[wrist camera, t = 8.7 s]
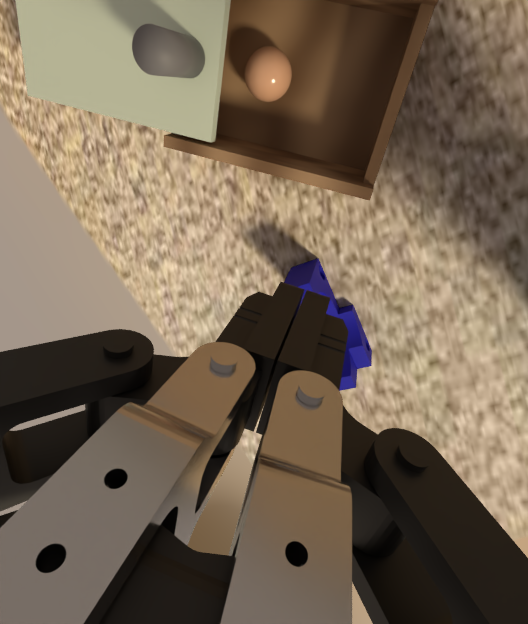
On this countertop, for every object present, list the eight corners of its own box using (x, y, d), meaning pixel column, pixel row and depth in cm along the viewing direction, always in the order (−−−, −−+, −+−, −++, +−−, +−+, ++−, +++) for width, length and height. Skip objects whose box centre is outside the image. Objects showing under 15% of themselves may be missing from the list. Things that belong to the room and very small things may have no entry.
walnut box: (428, 8, 26) (444, -17, 20) (370, 180, 33) (369, 200, 27) (216, -34, 28) (172, -69, 22) (200, 137, 35) (163, 146, 29)
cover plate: (233, -28, 23) (195, -61, 18) (215, 141, 28) (181, 151, 24) (16, -71, 25) (-73, -112, 20) (36, 95, 30) (-30, 95, 25)
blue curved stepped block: (371, 349, 41) (370, 384, 36) (333, 358, 43) (327, 392, 38) (332, 252, 37) (325, 277, 32) (291, 267, 39) (278, 292, 34)
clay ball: (300, 54, 29) (291, 49, 26) (290, 106, 31) (280, 107, 28) (256, 44, 29) (242, 38, 26) (248, 96, 31) (235, 96, 28)
